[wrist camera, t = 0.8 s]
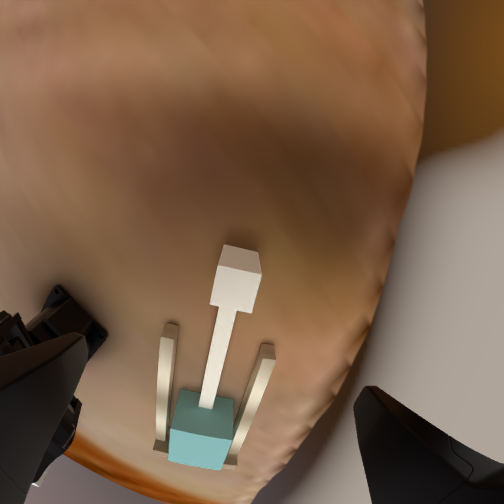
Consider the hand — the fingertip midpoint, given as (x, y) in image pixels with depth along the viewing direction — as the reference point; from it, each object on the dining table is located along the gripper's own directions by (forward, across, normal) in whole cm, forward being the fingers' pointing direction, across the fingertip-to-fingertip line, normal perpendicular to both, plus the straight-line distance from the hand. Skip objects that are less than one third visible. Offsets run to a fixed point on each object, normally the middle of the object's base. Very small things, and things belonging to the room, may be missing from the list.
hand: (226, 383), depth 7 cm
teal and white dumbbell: (+12, 0, +9) cm, 15 cm away
